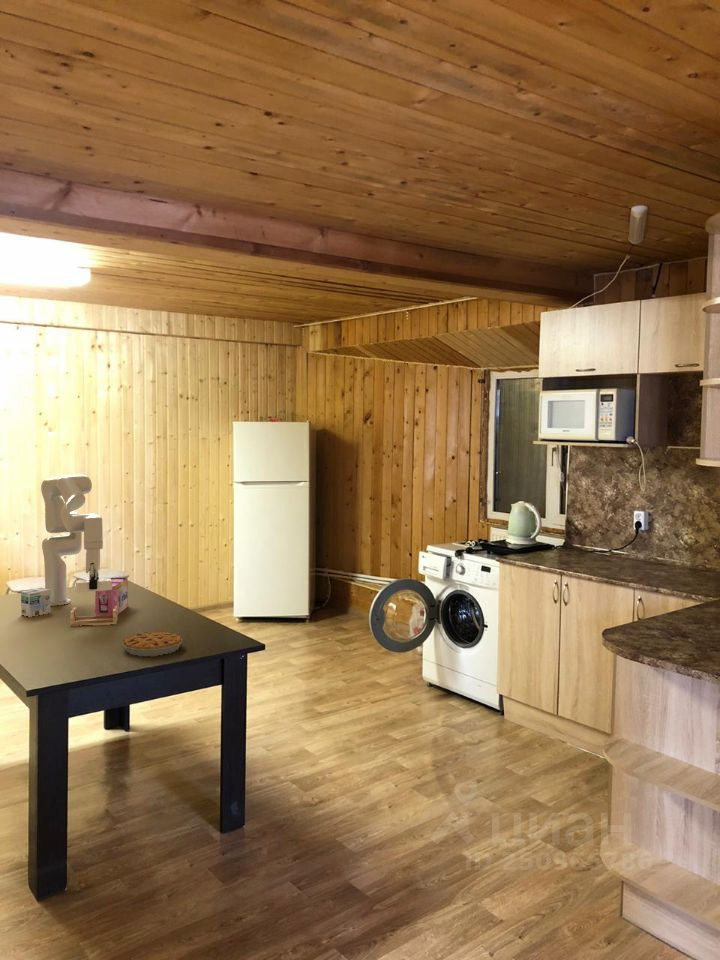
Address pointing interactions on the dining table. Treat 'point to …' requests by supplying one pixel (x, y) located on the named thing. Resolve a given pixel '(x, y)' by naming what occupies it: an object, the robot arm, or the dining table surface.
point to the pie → (152, 643)
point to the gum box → (112, 598)
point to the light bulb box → (35, 602)
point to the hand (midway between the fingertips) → (94, 587)
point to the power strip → (101, 585)
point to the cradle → (93, 618)
